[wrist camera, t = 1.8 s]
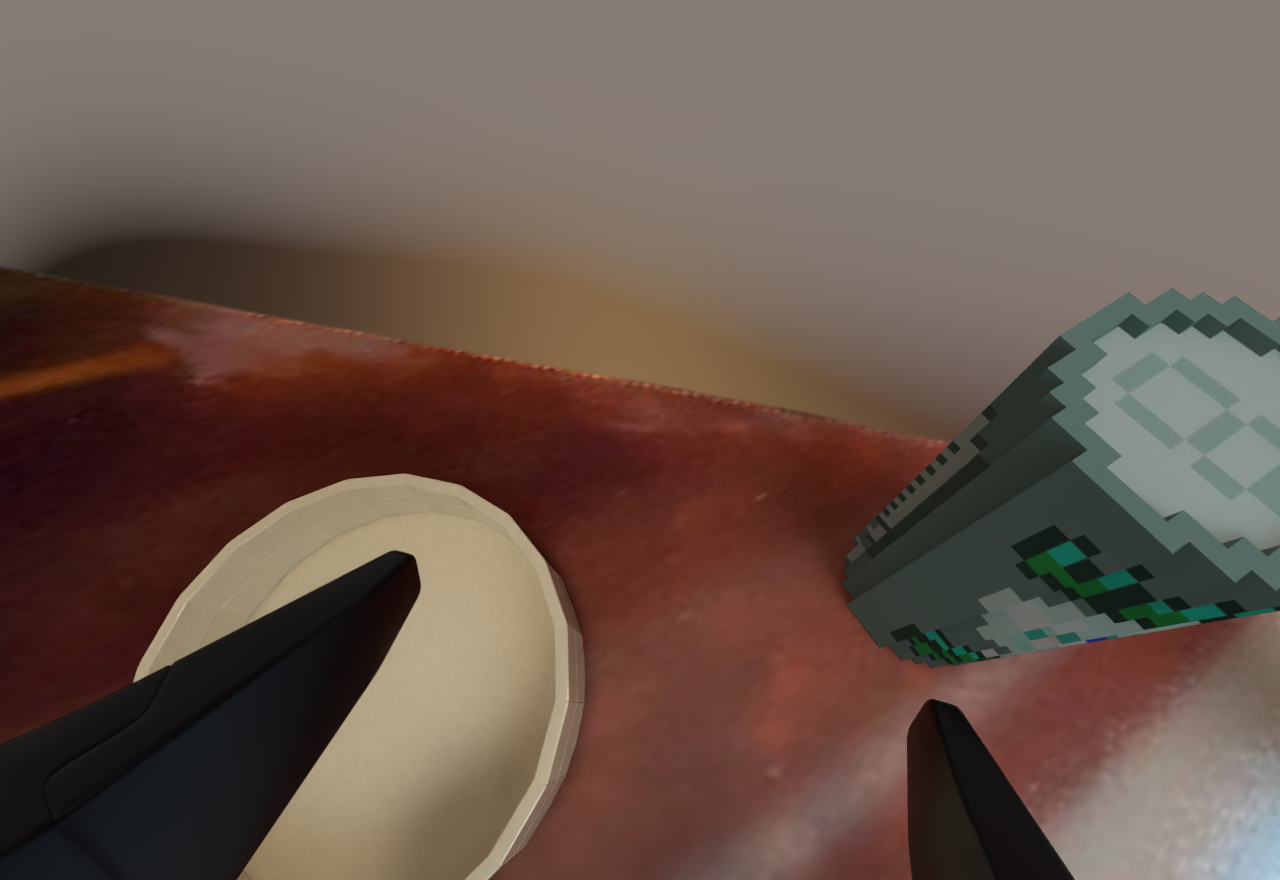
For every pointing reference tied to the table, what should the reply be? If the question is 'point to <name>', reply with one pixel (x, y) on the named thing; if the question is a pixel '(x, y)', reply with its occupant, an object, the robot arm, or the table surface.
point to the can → (1092, 494)
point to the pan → (411, 682)
